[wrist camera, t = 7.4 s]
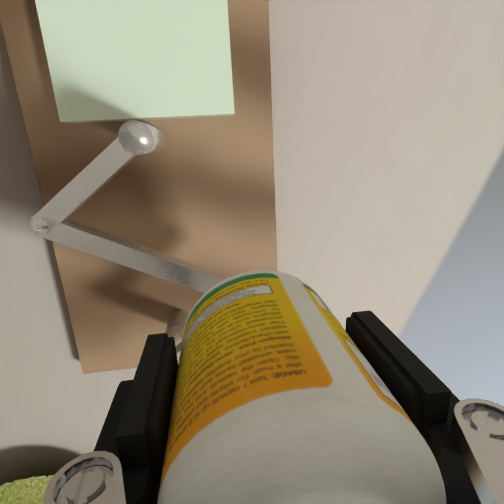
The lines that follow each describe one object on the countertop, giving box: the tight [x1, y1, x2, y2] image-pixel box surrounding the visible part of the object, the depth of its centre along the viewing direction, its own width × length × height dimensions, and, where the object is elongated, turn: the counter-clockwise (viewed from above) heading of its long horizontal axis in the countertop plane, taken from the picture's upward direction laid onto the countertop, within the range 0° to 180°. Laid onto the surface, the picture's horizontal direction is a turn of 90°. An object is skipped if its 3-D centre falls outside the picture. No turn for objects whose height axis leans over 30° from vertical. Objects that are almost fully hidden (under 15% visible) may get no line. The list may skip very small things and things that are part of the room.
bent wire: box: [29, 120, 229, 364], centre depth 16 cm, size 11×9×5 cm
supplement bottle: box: [157, 270, 447, 504], centre depth 8 cm, size 5×5×10 cm
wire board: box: [0, 0, 277, 374], centre depth 18 cm, size 21×12×1 cm, turn 3°
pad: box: [35, 0, 235, 123], centre depth 15 cm, size 7×8×1 cm
